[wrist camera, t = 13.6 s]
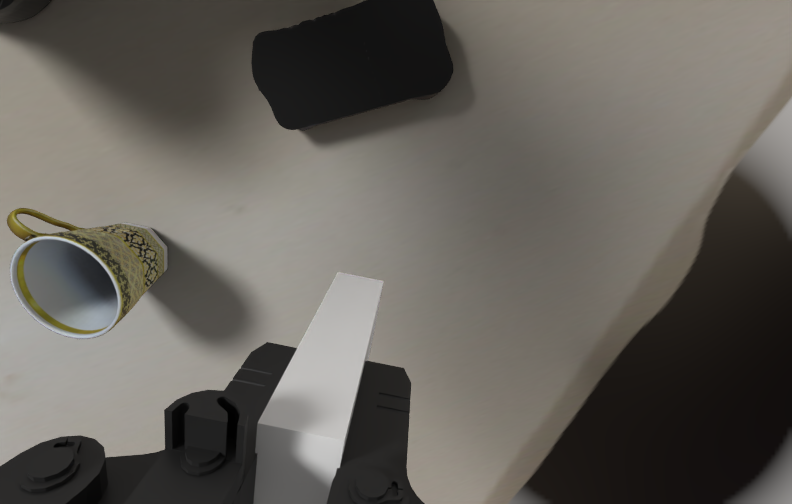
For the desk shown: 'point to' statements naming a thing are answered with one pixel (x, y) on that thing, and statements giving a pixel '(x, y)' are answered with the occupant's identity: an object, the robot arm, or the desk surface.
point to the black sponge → (352, 61)
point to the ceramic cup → (83, 273)
